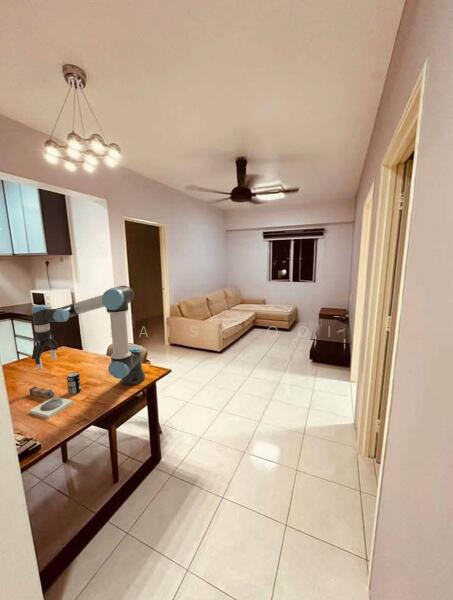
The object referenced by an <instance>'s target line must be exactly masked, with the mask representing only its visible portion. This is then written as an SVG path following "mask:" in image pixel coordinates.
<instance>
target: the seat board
mask: <svg viewBox="0 0 453 600" xmlns="http://www.w3.org/2000/svg"><path fill="white" fill-rule="evenodd" d="M50 398H51V397H50ZM50 398H48V400H45V401H43V402H42V403H40V404H37V405H36V406H34V407H33V408H31V409H29V413H30V414H31V415H32V414H33V415H35V416H39V417H43V418H45V419H51V418H52V417H53V416H55V415H57V414H59V413H60V412H61V411H63V410H65V409H66V408H68V407H69V406H71V405H73V404H74V400H71V399H67V398H64V397H59V396H55V395H54V397H52V398H51V399H50Z"/></svg>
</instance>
